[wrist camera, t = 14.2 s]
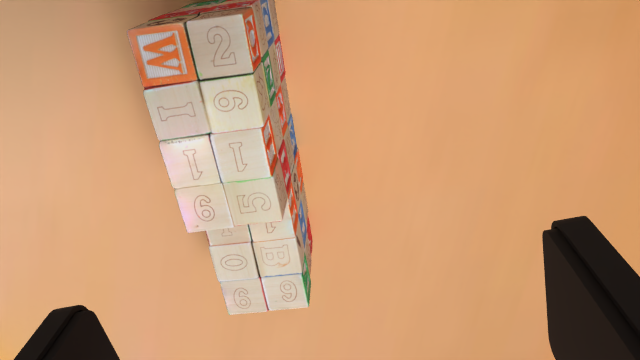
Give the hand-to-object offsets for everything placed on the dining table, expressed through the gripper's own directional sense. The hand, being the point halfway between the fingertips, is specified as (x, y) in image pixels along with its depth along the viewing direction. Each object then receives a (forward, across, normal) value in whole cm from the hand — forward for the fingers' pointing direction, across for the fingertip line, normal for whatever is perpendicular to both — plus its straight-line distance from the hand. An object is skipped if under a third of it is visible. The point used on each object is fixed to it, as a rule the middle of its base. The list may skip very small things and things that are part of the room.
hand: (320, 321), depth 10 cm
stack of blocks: (+31, +8, +6) cm, 32 cm away
